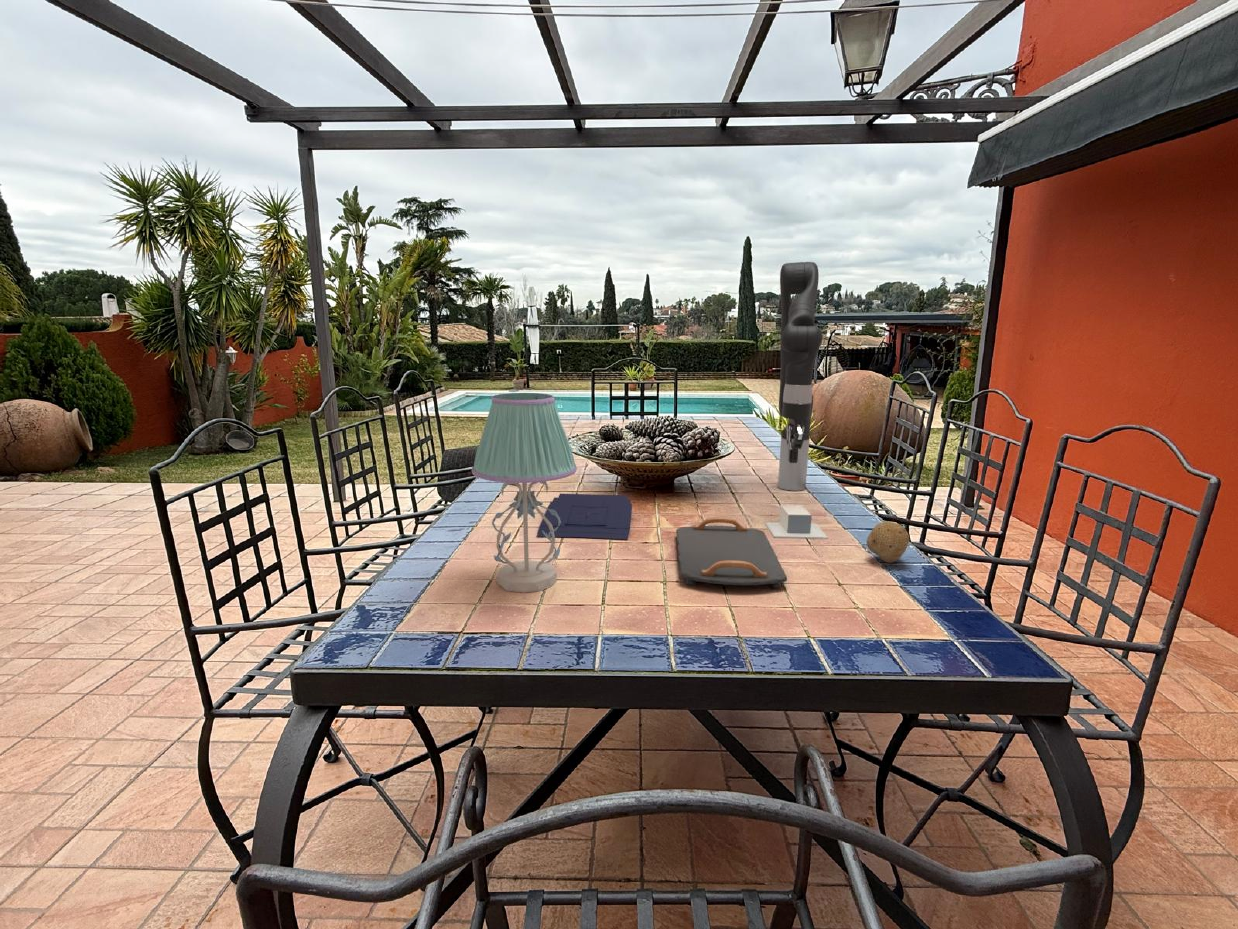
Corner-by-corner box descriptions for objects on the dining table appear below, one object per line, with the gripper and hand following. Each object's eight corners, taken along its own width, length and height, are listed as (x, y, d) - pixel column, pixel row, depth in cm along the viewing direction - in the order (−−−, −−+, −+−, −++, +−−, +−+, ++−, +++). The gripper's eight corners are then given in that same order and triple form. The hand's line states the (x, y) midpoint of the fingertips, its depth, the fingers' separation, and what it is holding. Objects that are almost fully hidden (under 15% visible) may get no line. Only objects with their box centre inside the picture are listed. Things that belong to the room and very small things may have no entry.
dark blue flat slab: (633, 503, 194) (633, 492, 193) (628, 549, 166) (628, 536, 165) (554, 501, 196) (553, 490, 194) (535, 546, 167) (535, 533, 166)
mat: (765, 523, 180) (765, 522, 180) (815, 524, 180) (815, 523, 180) (774, 537, 169) (774, 536, 169) (827, 538, 168) (827, 537, 168)
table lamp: (569, 559, 152) (568, 390, 143) (584, 597, 131) (584, 402, 122) (475, 565, 147) (469, 391, 138) (475, 606, 126) (468, 403, 118)
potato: (865, 565, 150) (869, 525, 148) (864, 553, 158) (868, 514, 156) (907, 571, 147) (912, 529, 145) (904, 558, 155) (909, 518, 153)
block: (780, 504, 180) (789, 515, 170) (801, 505, 180) (811, 515, 170) (779, 521, 181) (787, 533, 171) (800, 522, 181) (810, 533, 171)
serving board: (791, 597, 133) (793, 569, 132) (679, 594, 134) (680, 566, 133) (761, 536, 171) (763, 514, 169) (674, 534, 172) (675, 512, 171)
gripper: (778, 397, 182) (774, 456, 186) (789, 403, 169) (784, 467, 173) (804, 397, 182) (800, 457, 186) (817, 404, 169) (812, 468, 173)
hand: (792, 462), depth 179 cm, fingers closed
